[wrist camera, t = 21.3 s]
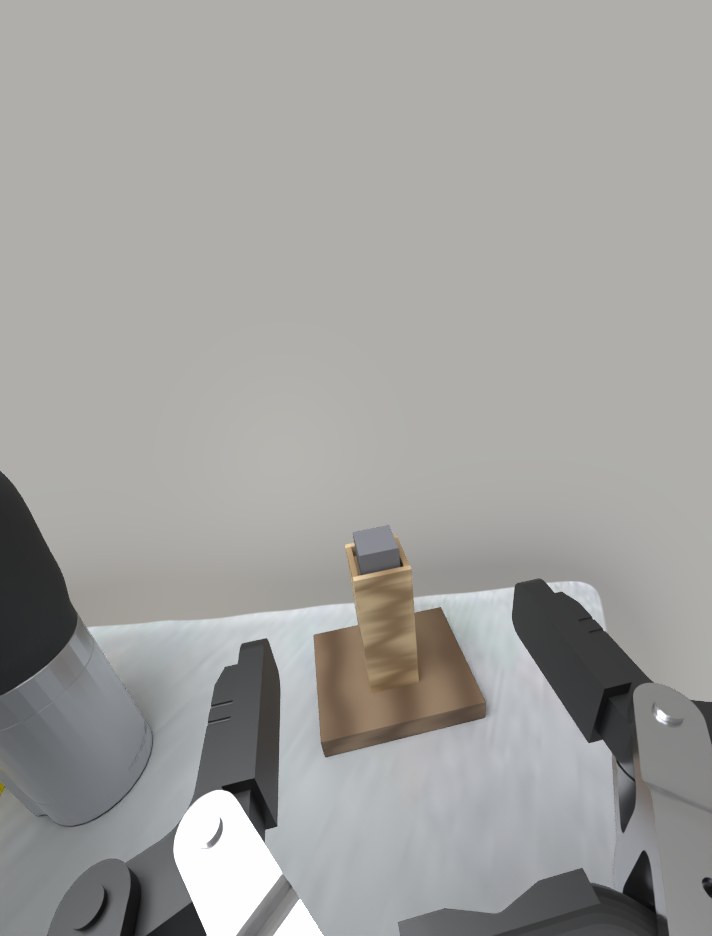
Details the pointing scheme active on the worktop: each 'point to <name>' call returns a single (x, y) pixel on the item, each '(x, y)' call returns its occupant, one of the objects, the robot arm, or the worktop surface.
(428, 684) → the block
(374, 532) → the block
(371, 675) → the wooden square tube
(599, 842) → the worktop surface
